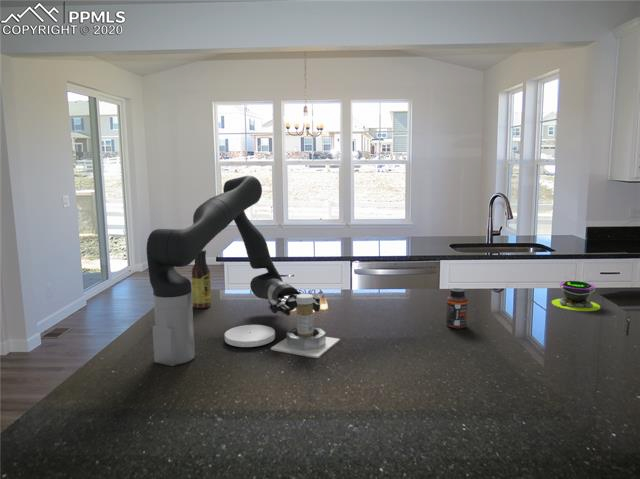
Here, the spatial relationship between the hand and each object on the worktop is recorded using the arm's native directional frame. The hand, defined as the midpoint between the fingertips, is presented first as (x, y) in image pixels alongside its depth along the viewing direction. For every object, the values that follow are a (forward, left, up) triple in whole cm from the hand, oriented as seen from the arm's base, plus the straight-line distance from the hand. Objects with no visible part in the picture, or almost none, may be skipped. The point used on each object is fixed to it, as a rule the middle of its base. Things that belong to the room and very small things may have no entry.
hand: (303, 310), depth 135 cm
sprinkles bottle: (-1, -1, -9) cm, 9 cm away
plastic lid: (-4, +15, -10) cm, 18 cm away
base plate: (-1, -1, -9) cm, 10 cm away
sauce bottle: (+17, +49, -10) cm, 53 cm away
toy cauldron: (+72, -68, -10) cm, 100 cm away
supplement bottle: (+32, -35, -10) cm, 48 cm away
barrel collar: (-1, -1, -9) cm, 10 cm away
